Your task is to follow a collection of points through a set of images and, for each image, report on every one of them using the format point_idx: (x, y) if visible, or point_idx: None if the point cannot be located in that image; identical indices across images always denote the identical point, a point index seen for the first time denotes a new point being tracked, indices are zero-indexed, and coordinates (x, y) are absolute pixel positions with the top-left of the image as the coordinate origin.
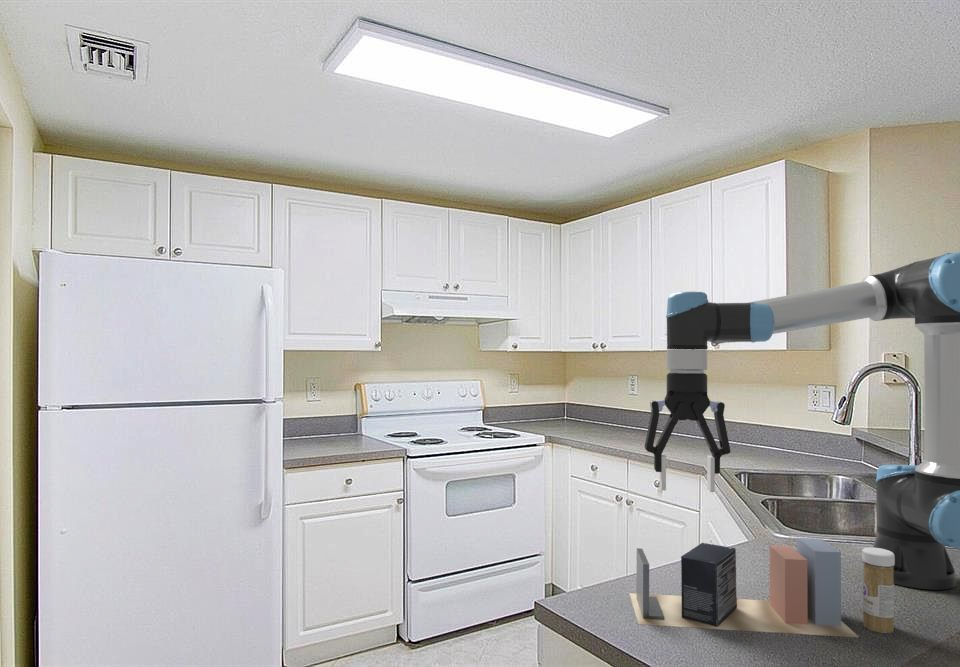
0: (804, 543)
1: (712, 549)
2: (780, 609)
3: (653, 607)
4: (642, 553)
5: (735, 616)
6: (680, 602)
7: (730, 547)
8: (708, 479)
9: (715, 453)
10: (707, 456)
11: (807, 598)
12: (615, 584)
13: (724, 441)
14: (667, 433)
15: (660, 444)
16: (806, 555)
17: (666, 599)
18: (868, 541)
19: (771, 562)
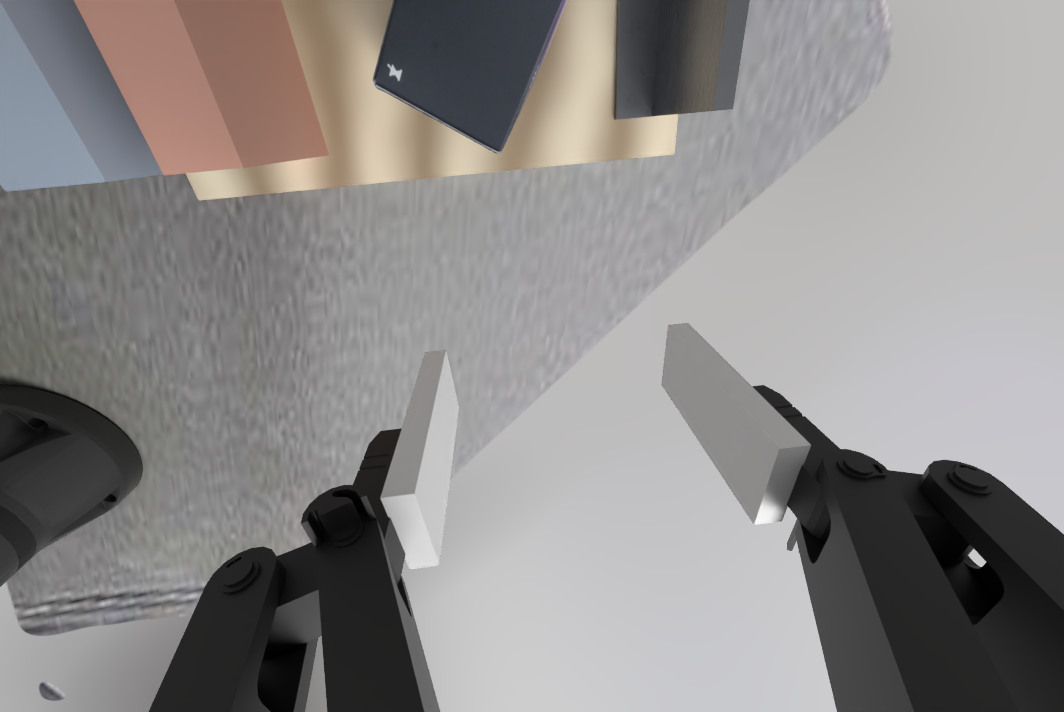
0: (50, 84)
1: (467, 24)
2: (287, 47)
3: (638, 19)
4: (730, 31)
5: None
6: (555, 111)
7: (392, 86)
8: (449, 422)
9: (362, 536)
10: (438, 554)
11: None
12: (681, 248)
13: (208, 688)
14: (961, 694)
15: (910, 534)
16: (77, 60)
17: (587, 128)
18: (166, 600)
19: (264, 138)
